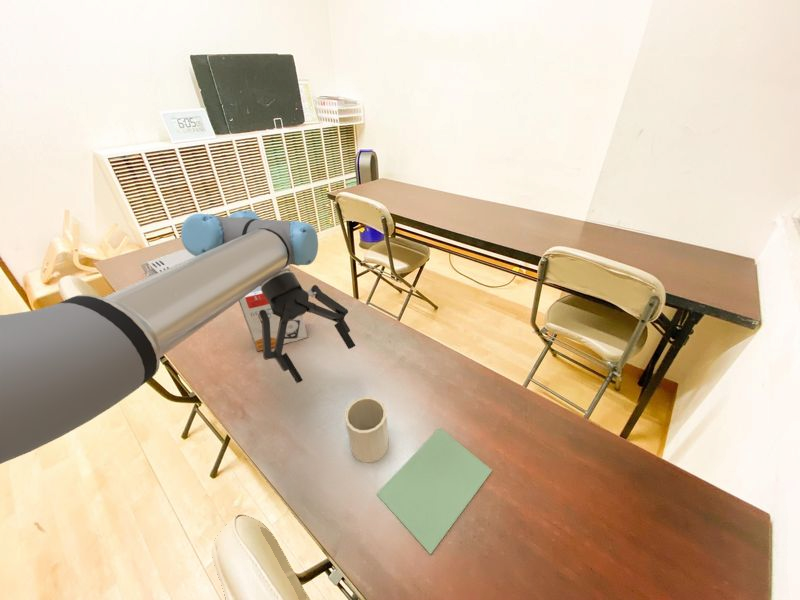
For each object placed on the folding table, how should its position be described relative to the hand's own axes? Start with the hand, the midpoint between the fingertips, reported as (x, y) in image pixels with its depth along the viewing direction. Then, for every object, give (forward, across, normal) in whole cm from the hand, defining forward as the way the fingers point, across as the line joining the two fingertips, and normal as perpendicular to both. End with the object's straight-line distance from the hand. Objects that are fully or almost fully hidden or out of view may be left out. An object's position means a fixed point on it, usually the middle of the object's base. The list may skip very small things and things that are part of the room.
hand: (327, 363), depth 69 cm
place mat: (+32, -4, +8) cm, 33 cm away
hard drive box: (-12, -4, -37) cm, 39 cm away
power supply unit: (-61, -1, -86) cm, 105 cm away
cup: (+21, 0, -4) cm, 21 cm away
